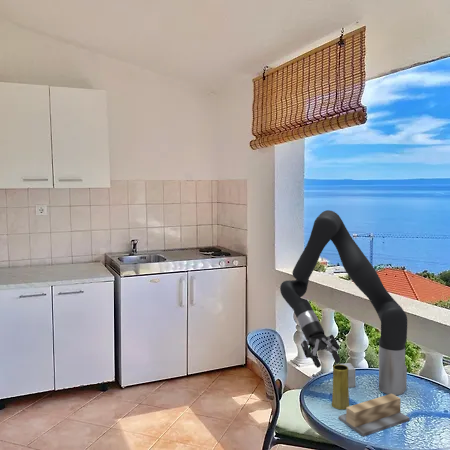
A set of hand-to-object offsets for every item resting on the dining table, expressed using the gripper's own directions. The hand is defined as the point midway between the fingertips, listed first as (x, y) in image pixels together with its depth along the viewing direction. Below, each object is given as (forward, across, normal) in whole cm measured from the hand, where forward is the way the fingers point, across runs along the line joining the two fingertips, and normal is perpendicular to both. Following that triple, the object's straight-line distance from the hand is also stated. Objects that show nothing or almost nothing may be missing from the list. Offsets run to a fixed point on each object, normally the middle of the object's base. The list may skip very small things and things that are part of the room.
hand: (328, 364), depth 171 cm
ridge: (+23, +4, -4) cm, 23 cm away
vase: (+14, 0, +5) cm, 15 cm away
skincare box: (+5, +13, +14) cm, 20 cm away
